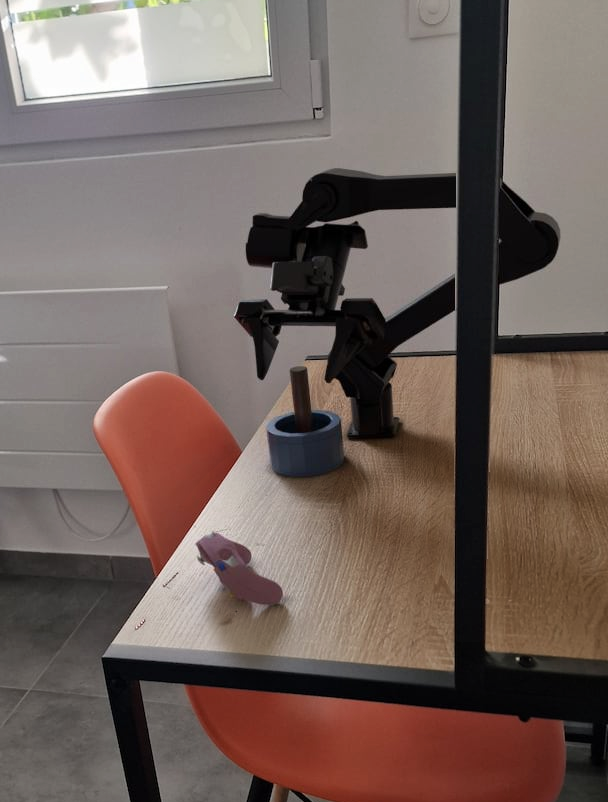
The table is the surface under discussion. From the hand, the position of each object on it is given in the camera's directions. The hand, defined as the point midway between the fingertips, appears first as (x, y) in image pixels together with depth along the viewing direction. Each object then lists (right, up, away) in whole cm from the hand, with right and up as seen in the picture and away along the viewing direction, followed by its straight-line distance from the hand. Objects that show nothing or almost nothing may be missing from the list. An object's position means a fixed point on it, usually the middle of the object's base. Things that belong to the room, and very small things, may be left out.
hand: (292, 380), depth 101 cm
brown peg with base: (+2, -9, +6) cm, 11 cm away
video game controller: (-6, -24, -21) cm, 32 cm away
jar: (+2, -10, +6) cm, 12 cm away
